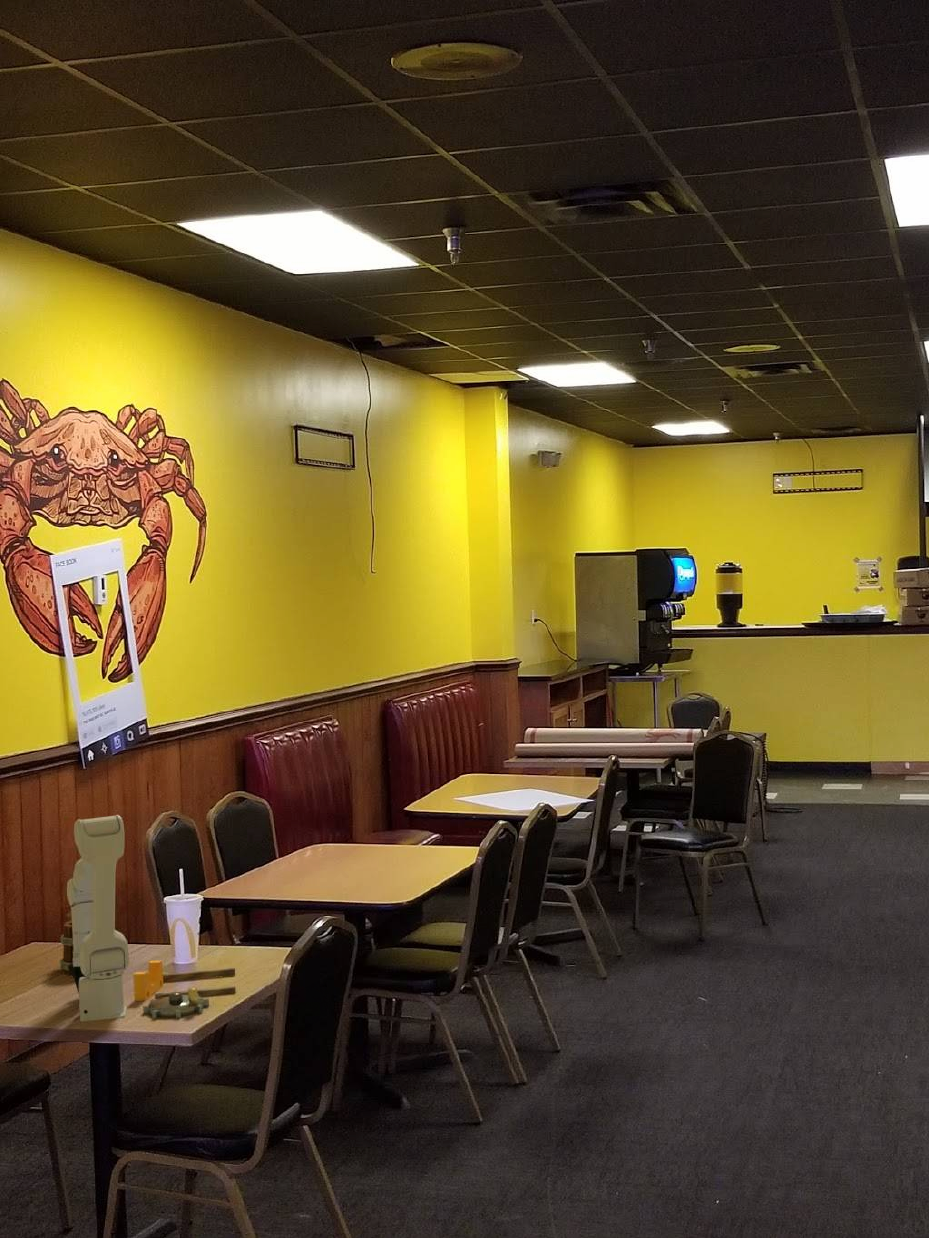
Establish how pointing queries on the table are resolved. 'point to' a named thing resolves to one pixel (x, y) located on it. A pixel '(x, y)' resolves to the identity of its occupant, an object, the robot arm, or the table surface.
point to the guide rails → (198, 976)
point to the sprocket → (176, 1005)
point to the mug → (67, 945)
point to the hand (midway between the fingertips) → (88, 989)
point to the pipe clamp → (148, 981)
